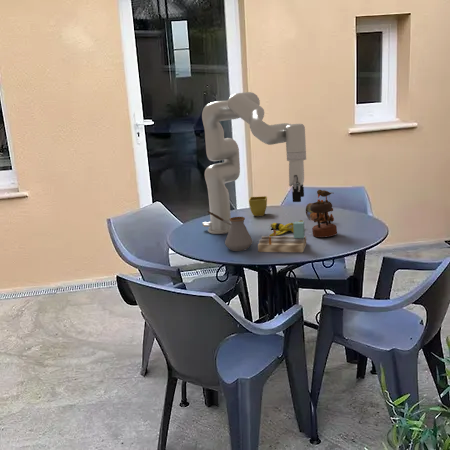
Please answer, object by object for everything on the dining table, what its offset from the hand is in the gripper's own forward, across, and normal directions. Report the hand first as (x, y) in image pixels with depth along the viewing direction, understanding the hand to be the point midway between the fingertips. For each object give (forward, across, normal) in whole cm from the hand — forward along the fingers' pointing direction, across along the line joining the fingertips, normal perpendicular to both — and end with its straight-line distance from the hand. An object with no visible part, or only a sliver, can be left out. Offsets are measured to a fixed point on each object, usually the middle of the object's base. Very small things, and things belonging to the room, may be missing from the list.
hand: (298, 199), depth 209 cm
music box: (+20, -18, +8) cm, 28 cm away
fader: (+17, 0, 0) cm, 17 cm away
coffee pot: (+20, 0, -30) cm, 36 cm away
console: (+20, 0, -8) cm, 22 cm away
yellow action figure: (+20, -25, -12) cm, 34 cm away
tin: (+20, -43, +2) cm, 48 cm away
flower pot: (+20, -55, -28) cm, 65 cm away
